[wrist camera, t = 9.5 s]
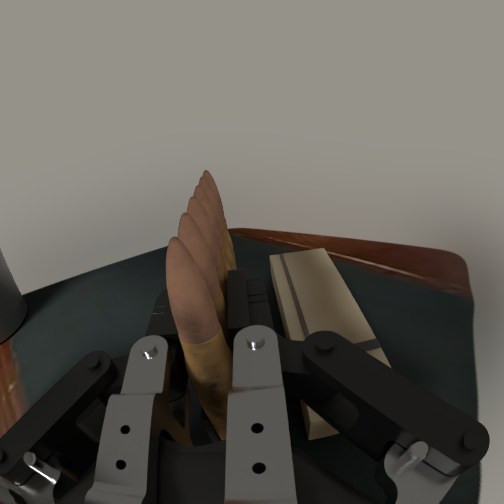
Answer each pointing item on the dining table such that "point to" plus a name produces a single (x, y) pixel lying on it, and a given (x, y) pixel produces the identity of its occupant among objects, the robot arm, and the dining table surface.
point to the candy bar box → (9, 493)
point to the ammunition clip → (204, 301)
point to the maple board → (318, 312)
